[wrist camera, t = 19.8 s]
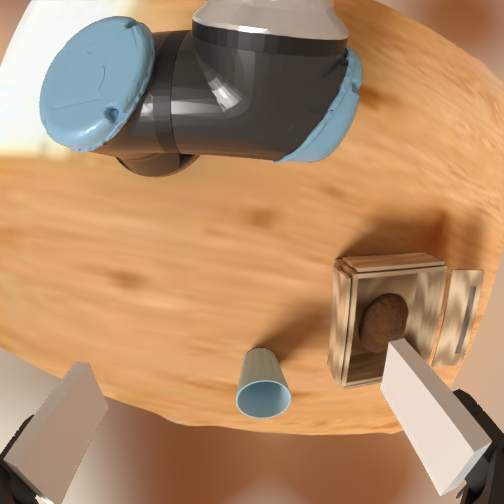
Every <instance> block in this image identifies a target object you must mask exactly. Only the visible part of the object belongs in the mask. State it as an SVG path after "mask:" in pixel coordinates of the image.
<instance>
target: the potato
mask: <svg viewBox="0 0 504 504" xmlns="http://www.w3.org/2000/svg"><path fill="white" fill-rule="evenodd" d="M407 318H408V306H407V303H406V301H405V300H404V299H403V297H402V296H401V295H399V294H395V293H385V294H381V295H379V296H378V297H377V298H375V299H374V300H373V301H372V302H371V303H370V304H369V306H368V307H367V308H366V310H365V312H364V315H363V318H362V320H361V323H360V326H359V339H360V342H361V344H362V345H363V346H364V347H365V348H366V349H367V350H370V351H372V352H376V353H381V352H384V351H386V350H387V349H388V344H389V342H390V341H394V340H398V339H399V338H400V337H401V336H402V335H403V333H404V331H405V328H406V323H407Z"/></svg>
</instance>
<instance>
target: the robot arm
mask: <svg viewBox="0 0 504 504" xmlns="http://www.w3.org/2000/svg"><path fill="white" fill-rule="evenodd" d="M334 3H335V0H207V1H206V2H205V3H204V4H203V5H202V6H200V7H199V8H198V9H197V10H196V11H195V12H194V13H193V18H192V30H183V31H166V32H155V33H151V31H150V30H149V28H148V27H147V26H146V25H145V24H143V23H140V22H138V21H136V20H135V19H133V18H130V17H124V16H114V17H108V18H104V19H101V20H99V21H96V22H94V23H92V24H90V25H88V26H87V27H85V28H83V29H82V30H81V31H79V32H78V33H77V34H75V35H74V36H73V37H72V38H71V39H70V40H69V41H68V42H67V43H66V45H65V46H64V48H63V49H62V50H61V51H60V52H59V53H58V54H57V55H56V57H55V58H54V60H53V61H52V63H51V65H50V67H49V69H48V71H47V73H46V76H45V78H44V81H43V85H42V88H41V94H40V106H39V107H40V117H41V121H42V124H43V125H44V126H45V129H46V131H47V134H48V135H49V136H50V137H51V138H52V139H53V140H54V141H55V142H57V143H59V144H61V145H63V146H67V147H69V148H70V149H71V150H73V151H77V152H93V153H99V154H104V155H109V156H114V157H116V158H117V160H118V161H119V162H120V163H121V164H122V165H123V166H124V167H125V168H126V169H128V170H130V171H131V172H133V173H136V174H138V175H142V176H148V177H164V176H169V175H172V174H175V173H178V172H180V171H182V170H183V169H185V168H186V167H188V166H189V165H190V164H192V163H193V162H194V161H195V160H196V159H197V158H198V157H199V155H215V156H230V157H242V158H253V159H263V160H269V161H271V162H275V163H278V162H281V163H282V162H286V161H291V162H303V163H312V162H317V161H320V160H323V159H324V158H326V157H327V156H329V155H330V154H331V153H332V152H333V151H334V150H335V149H336V148H337V147H338V146H339V144H340V143H341V142H342V140H343V138H344V137H345V135H346V133H347V132H348V130H349V128H350V126H351V123H352V121H353V119H354V116H355V114H356V111H357V107H358V104H359V99H360V96H359V95H358V90H359V88H360V86H361V85H362V77H363V72H362V65H361V61H360V58H359V56H358V55H357V53H356V52H355V51H354V50H352V49H351V48H350V47H349V46H348V45H346V44H347V40H348V36H349V30H348V29H347V27H346V26H345V24H344V23H343V22H342V20H341V19H340V17H339V16H338V15H337V13H336V11H335V8H334ZM380 390H381V392H382V394H383V395H384V397H385V399H386V400H387V402H388V404H389V405H390V407H391V409H392V410H393V412H394V414H395V416H396V417H397V419H398V421H399V422H400V424H401V426H402V428H403V429H404V431H405V433H406V435H407V436H408V438H409V440H410V442H411V443H412V445H413V447H414V449H415V451H416V452H417V454H418V456H419V458H420V460H421V461H422V463H423V465H424V466H425V469H426V471H427V472H428V474H429V476H430V478H431V480H432V482H433V484H434V485H435V487H436V489H437V491H438V493H439V495H440V496H441V495H443V494H445V493H447V492H449V491H451V490H453V489H455V488H456V487H458V486H459V484H460V483H461V482H462V481H463V480H464V479H465V480H466V482H467V484H466V485H465V487H464V488H463V489H462V490H461V491H460V492H459V493H458V495H457V497H456V498H459V497H460V496H461V495H462V494H463V496H462V499H461V503H460V504H504V433H502V431H501V430H500V429H499V428H498V427H497V425H496V424H495V423H494V422H493V421H492V419H491V418H490V417H489V416H488V415H487V414H486V412H485V411H483V409H482V408H481V407H480V406H479V405H477V403H476V401H475V400H474V399H473V398H472V397H471V396H470V395H469V394H468V393H466V392H464V391H462V390H460V389H458V390H456V391H453V392H452V391H451V390H450V389H449V388H448V387H447V386H446V384H445V383H444V382H443V381H442V380H441V379H440V378H439V376H438V375H437V374H436V373H435V372H434V371H433V370H432V369H431V367H430V366H429V365H428V364H427V363H426V362H425V361H424V360H423V359H422V357H421V356H420V355H419V354H418V353H417V352H416V351H415V350H414V349H413V348H412V346H411V345H410V344H409V343H408V342H407V341H406V340H405V339H404V338H403V339H399V340H394V341H390V342H389V344H388V351H387V357H386V362H385V368H384V373H383V378H382V383H381V388H380ZM107 409H108V405H107V403H106V401H105V398H104V396H103V394H102V392H101V390H100V388H99V386H98V383H97V381H96V379H95V376H94V374H93V372H92V369H91V367H90V365H89V363H83V362H76V363H75V364H74V365H73V366H72V368H71V369H70V370H69V371H68V373H67V374H66V375H65V376H64V378H63V379H62V380H61V381H60V383H59V384H58V385H57V386H56V388H55V389H54V390H53V391H52V393H51V394H50V395H49V397H48V398H47V399H46V401H45V402H44V403H43V404H42V406H41V407H40V409H39V410H38V411H37V413H36V414H35V415H32V416H30V417H29V418H28V419H26V420H25V421H24V422H23V424H22V425H21V426H20V428H19V430H18V431H17V432H16V433H15V436H13V437H12V439H11V440H10V442H9V443H8V444H7V446H6V447H5V449H4V450H3V452H2V453H1V454H0V504H39V503H38V501H37V500H36V499H35V497H36V495H38V496H39V497H40V498H41V499H42V500H44V501H45V502H46V503H49V504H61V503H62V501H63V499H64V497H65V494H66V492H67V490H68V488H69V486H70V483H71V481H72V479H73V477H74V475H75V473H76V471H77V468H78V467H79V465H80V462H81V460H82V458H83V456H84V454H85V452H86V450H87V448H88V446H89V444H90V442H91V440H92V438H93V436H94V434H95V432H96V430H97V428H98V426H99V425H100V423H101V421H102V418H103V417H104V415H105V413H106V411H107Z"/></svg>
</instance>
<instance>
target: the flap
mask: <svg viewBox="0 0 504 504" xmlns="http://www.w3.org/2000/svg"><path fill="white" fill-rule="evenodd" d="M483 274H484V270H469V269H452V271H451V278H450V285H449V291H448V297H447V303H446V308H445V313H444V318H443V322H442V327H441V331H440V335H439V339H438V343H437V347H436V351H435V355H434V358H433V362H432V366H454V365H461V364H462V361H463V358H464V355H465V352H466V348H467V345H468V342H469V338H470V335H471V331H472V327H473V323H474V319H475V315H476V311H477V306H478V302H479V297H480V292H481V286H482V280H483Z"/></svg>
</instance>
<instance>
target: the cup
mask: <svg viewBox="0 0 504 504" xmlns="http://www.w3.org/2000/svg"><path fill="white" fill-rule="evenodd" d="M290 403H291V393H290V390H289V388H288V385H287V383H286V381H285V378H284V376H283V373H282V371H281V368H280V366H279V363H278V361H277V358H276V356H275V355H274V353H273V352H272V351H270V350H268V349H266V348H256V349H253V350H251V351H249V352H248V353H247V354H246V355H245V358H244V361H243V366H242V371H241V376H240V381H239V386H238V391H237V396H236V404H237V407H238V408H239V410H240V411H241V412H242V413H244V414H245V415H247V416H250V417H253V418H259V419H265V418H271V417H275V416H277V415H279V414H281V413H282V412H284V411H285V410H286V409H287V408H288V406H289V405H290Z"/></svg>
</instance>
